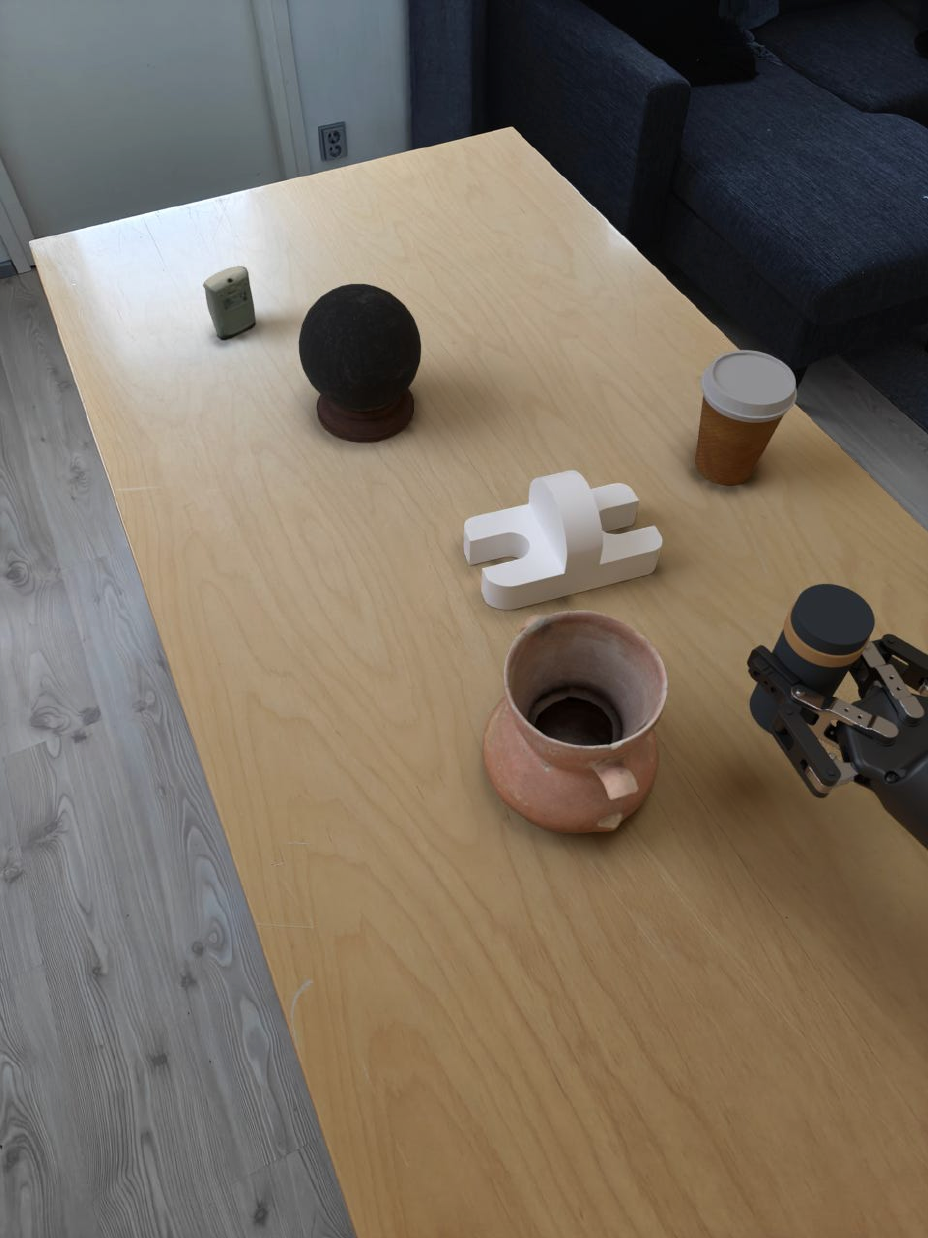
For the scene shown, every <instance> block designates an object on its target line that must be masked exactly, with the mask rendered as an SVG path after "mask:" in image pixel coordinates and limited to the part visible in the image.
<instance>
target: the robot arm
mask: <svg viewBox="0 0 928 1238" xmlns="http://www.w3.org/2000/svg"><path fill="white" fill-rule="evenodd" d="M902 661H903V662H902ZM746 664H747V667H748V670H747V672H748V674H749V676H750V678H751V679H752V680H754V681H755V683H756V684H757V683H758V684H759V685H760V686H762V688H763V689H764V690H765V691H766V692H767V693H768V694H769V695H770V696H771V697H772V698H774V699H775V700H776V701H777V703H778V705H779V710H778V712H777V715H776V716H775V718H774V720H773V721H772V723H771V725H770V727H769V730H770V733H771V734H770V733H769V734H770V735H771V736H772V737H773V739H774V740H775V741H776V743H777V744H778V746H779V748H780V749H781V750H782V752H783V753H784V755H785V757H786V758H787V760H788V761H789V763H790V764H791V766H792V767H793V768H794V770H795V771H796V773H797V774H798V776H799V777H800V779H801V780H802V781H803V783H804V784H805V786H806V787H807V789H808V790H809V792H810V793H811V795H812V796H813V797H815V798H817V799H826V798H827V797H828V796H829V794H830V793H831V792H832V791H833V790H834V789H836V788H839V787H841V786H844V785H846V784H849V783H851V782H853V783H854V784H856V785H858V786H861V787H863V788H866V789H867V790H869V791H871V792H872V793H873V794H874V795H875V796H876V797H877V798H878V800H879V802H880V804H881V806H882V808H883V810H885V811H886V812H887V814H889V815H890V816H891V817H892V818H893V819H894V820H895V821H896V822H897V823H898V824H899V825H900V826H901V827H903V829H905V831H906V832H908V833H909V834H910V835H911V836H912V838H914V839H915V840H916V841H917V842H918V843H919V844H920V845H921V846H922V847H923V848H924V849H925V850H927V851H928V653H925V652H924V651H922V650H920V649H919V648H917V647H916V646H913V645H912V644H910V643H908V642H907V641H905V640H903V639H901V637H898V636H896V635H895V634H892V633H885V634H883V636H881V638H878V639H874V640H869V643H868V644H867V646H866V648H865V649H864V651H863V653H862V654H861V656H860V657H859V658H858V659H857V660H856V661H854V663H853V664H852V666H851V668H850V669H849V671H848V673H849V674H850V676H851V677H852V679H853V681H854V683H855V684H856V687H857V694H858V696H859V698H860V699H858V700H856V701H853V702H852V703H849V702H847V701H845V700H843V699H841V698H839V697H837V696H833V697H825V696H823V695H821V694H819V693H817V692H815V691H813V690H811V689H809V688H807V687H805V686H803V685H800V684H798V683H799V681H800V678H799V677H798V676H796V675H795V674H794V673H793V672H792V671H790V670H789V669H788V668H787V667H786V666H785V664H783V663H782V662H781V661H780V660H779V659H778V658H777V657H776V656H775V655H774V654H773V653H772V651H771V650H770V649H768V648H767V647H766V646H765V645H763V644H759V645H758V646H756V647H755V648H752V650H751V652H750V654H749V656H748V658H747V660H746ZM908 687H909V688H911V689H912V690H914V691H915V692H917V693H918V694H916V693H914V692H913V693H912V692H911V691H910V690H909V689H908ZM834 720H836V722H835V725H833V723H832V722H831V721H834ZM821 741H822V742H824V743H825V744H826V745H829V746H831V747H833V748H835V749H837V750H839V751H840V755H841V759H842V761H841V760H840V759H839V758H838V757H837V754H836V753H834V752H828V751H827V750H826V748H825V747H824V746H823V744H822V743H821Z"/></svg>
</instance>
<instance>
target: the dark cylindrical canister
mask: <svg viewBox="0 0 928 1238" xmlns="http://www.w3.org/2000/svg"><path fill="white" fill-rule="evenodd" d="M875 620H876V619H875V615H874V612H873V609H872V607H871V606H870V604H869V602H867V601H866V600H865V599H864V598H863V597H862V596H861V595H860V594H859V593H857V592H856V591H855V590H854V591H853V590H851V589H850V588H847V587H845V586H842V585H839V584H833V583H820V584H819V583H818V584H814V585H812V586H809V587H807V588H805V589H804V590H803V591H802V592H801V593H800V594H799V596H798V597H797V599H796V601H794V603H793V604H792V605H791V607H790V608H789V610H788V612H787V615H786V616H785V619H784V623H783V628H782V630H781V633H780V634H779V637H778V639H777V640H776V642H775V645H774V647H773V649H772V651H771V653H773V654H774V655H775V656H776V657H777V658H778V659H779V660H780V661H781V662H782V663H783V664H785V666H786V667H787V668H788V669H789V670H790V671H792V672H793V673H794V674H795V675H796V676H798V677H799V678H800V681H799V683H798V684H800V685H803V686H805V687H807V688H809V689H811V690H813V691H815V692H817V693H819V694H821V695H823V696H825V697H834V695H835V694H836V692H837V690H838V689H839V688H840V686H841V684H842V682H843V681H844V679H845V677H846V676H847V674H848V673H849V669H850V668H851V666H852V664H853V663H854V661H856V660H857V659H858V658H859V657H860V656H861V654H862V653H863V651H864V649H865V648H866V646H867V644H868V643H869V641H871V640H870V639H871V635H872V633H873V632H874V630H875V629H874V628H875V624H876V621H875ZM749 698H750V699H749V704H748V705H749V711H750V713H751V716H752V718H753V720H754V722H755V723H756V724H757V725H758V726H759V727H760V728H761V729H762V730H764V731H765V732H767V733H768V734H769V735H772V734H771V733H770V730H769V727H770V725H771V723H772V721H773V720H774V718H775V716H776V715H777V712H778V710H779V705H778V703H777V701H776V700H775V699H774V698H772V697H771V696H770V695H769V694H768V693H767V692H766V691H765V690H764V689H763V688H762V686H760V685H759V684H758V683H757V682H756V684H755V687H754V689H753V691H752V692H751V695H750V697H749Z"/></svg>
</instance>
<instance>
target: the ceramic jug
mask: <svg viewBox="0 0 928 1238" xmlns="http://www.w3.org/2000/svg"><path fill="white" fill-rule="evenodd" d="M502 675H503V676H502V679H503V690H504V696H503V697H502V698H501V699H500V700H499V701H498V703H497V704H496V706H495V707H494V709H493V710H492V711H491V714H490V715H489V717H488V720H487V722H486V725H485V728H484V733H483V738H482V755H483V762H484V763H483V764H484V767H485V770H486V775H487V777H488V779H489V781H490V784H491V786H492V787H493V789H494V790H495V793H496V794H497V796H498V797H499V798H500V799H501V801H502V802H503V803H505V805H506V806H508V807H509V808H510V809H511V810H513V811H514V812H515V813H517V815H519V816H520V817H522V818H523V819H525V820H526V821H527V822H529V823H531V824H532V825H535V826H537V827H540V828H542V829H546V830H549V831H553V832H557V833H563V834H564V833H565V834H584V833H585V834H586V833H593V832H598V833H600V832H601V833H602V832H614V831H615V830H616V829H617V828H618V827H619V825H620V824H621V822H622V821H624V820H626V819H627V818H628V817H630V815H631V814H633V813H634V812H635V811H637V810H638V808H639V807H640V806H641V805H642V804H643V802H644V801H645V800H646V799H647V798H648V796H649V794H650V792H651V791H652V788H653V786H654V784H655V781H656V777H657V775H658V768H659V761H660V760H659V759H660V755H659V747H658V741H657V738H656V737H657V736H656V733H655V730H654V728H655V727H656V725H657V724H658V723H659V721H660V719H661V716H662V714H663V713H664V710H665V706H666V704H667V699H668V694H669V693H668V692H669V678H668V673H667V670H666V666H665V663H664V661H663V659H662V657H661V656H660V653H659V651H658V650H657V649H656V648H655V646H653V644H652V643H651V641H650V640H648V639H647V637H646V636H644V635H642V633H640V632H639V630H637V628H634V627H633V626H632V625H630V624H628V623H626V622H625V621H624V620H622V619H619V618H617V617H614V616H612V615H610V614H607V613H603V612H600V611H595V610H591V609H577V610H563V611H557V612H555V613H550V614H547V615H545V614H532V615H530V616H528V617H527V618H526V619H525V621H524V622H523V623H522V625H521V627H520V629H519V632H518V635H517V636H516V638H515V639H514V641H513V642H512V643H511V645H510V647H509V649H508V651H507V653H506V657H505V661H504V665H503V673H502Z"/></svg>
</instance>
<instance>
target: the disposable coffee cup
mask: <svg viewBox="0 0 928 1238" xmlns="http://www.w3.org/2000/svg"><path fill="white" fill-rule="evenodd" d="M700 379H701V380H700V387H701V391H702V401H701V410H700V417H699V426H698V433H697V442H696V451H695V458H694V465H695V467H696V470H697V471H698V473H699V474H700V475H701V476H702V477H703V478H705V479H707V480H709V481H711V482H713V483H715V484H719V485H724V486H733V485H739V484H742V483H744V482H746V481H747V480H748V479H749V478H750V477H751V476H752V474H753V472H754V470H755V468H756V466H757V464H758V463H759V461H760V459H761V457H762V456H763V454H764V452H765V450H766V449H767V446H768V445H769V443H770V441H771V440H772V438H773V436H774V434H775V432H776V430H777V429H778V427H779V425H780V423H781V422H782V419H783V418H784V416H785V414H786V413H787V412H788V411H790V410H791V409H792V408H793V407H794V405H795V403H796V401H797V398H798V392H797V391H798V390H797V383H796V377H795V374H794V372H793V371H792V370H791V368H790V367H789V366H788V365H787V364H786V363H785V362H784V361H782V360H780V359H778V358H776V357H774V356H773V355H771V354H768V353H765V352H761V351H757V350H750V349H737V350H731V351H727V352H724V353H722V354H719V355H718V356H717V357H716V358H715V359H713V360H712V362H711V363H710V365H708V366H707V368H705V369H704V371H703V373H702V375H701V378H700Z"/></svg>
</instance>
